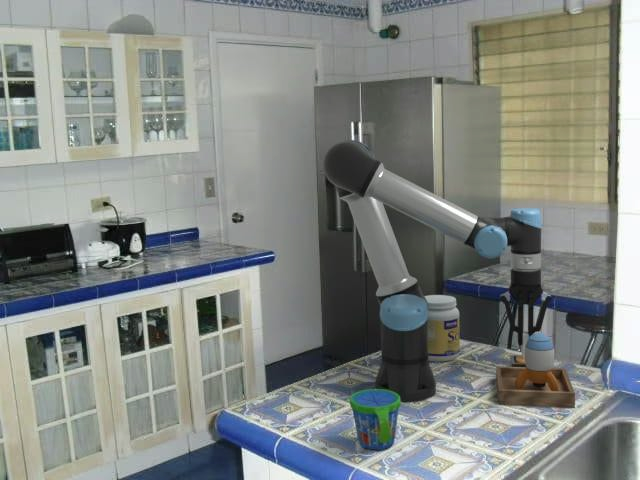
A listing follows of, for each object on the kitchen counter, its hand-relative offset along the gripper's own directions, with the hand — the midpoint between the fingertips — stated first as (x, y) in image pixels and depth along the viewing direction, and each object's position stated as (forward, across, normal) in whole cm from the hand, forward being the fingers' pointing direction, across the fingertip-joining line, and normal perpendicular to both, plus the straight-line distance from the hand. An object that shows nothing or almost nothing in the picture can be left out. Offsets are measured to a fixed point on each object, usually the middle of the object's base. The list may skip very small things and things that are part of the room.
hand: (525, 356), depth 184 cm
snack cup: (+5, -34, -45) cm, 57 cm away
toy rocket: (+4, +1, -13) cm, 14 cm away
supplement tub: (+5, -23, +13) cm, 27 cm away
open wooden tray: (+5, +1, -13) cm, 14 cm away
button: (+2, 0, 0) cm, 2 cm away
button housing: (+5, 0, 0) cm, 5 cm away
